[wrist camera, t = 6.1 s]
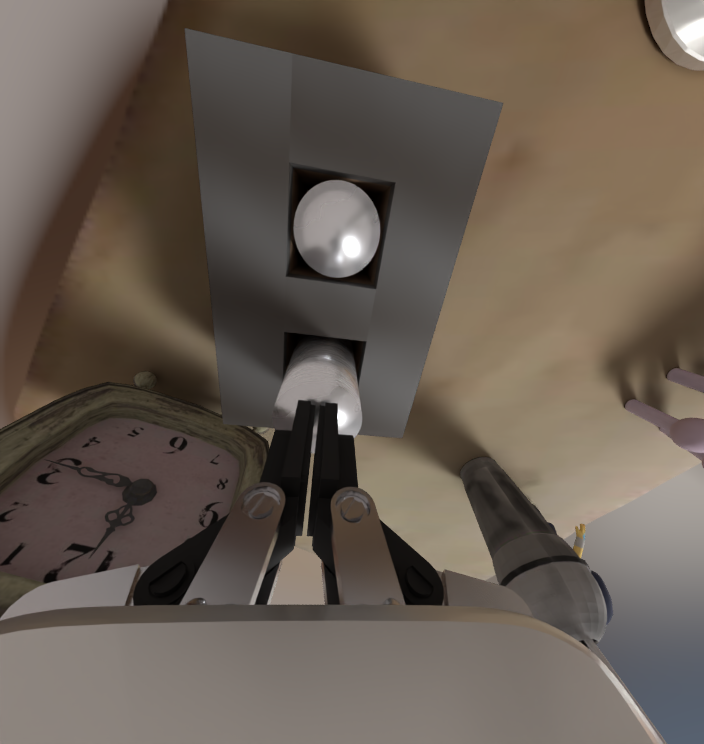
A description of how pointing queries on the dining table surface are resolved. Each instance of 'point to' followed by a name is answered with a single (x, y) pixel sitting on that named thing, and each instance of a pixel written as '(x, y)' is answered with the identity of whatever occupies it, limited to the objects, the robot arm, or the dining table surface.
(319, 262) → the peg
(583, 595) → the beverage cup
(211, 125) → the peg block
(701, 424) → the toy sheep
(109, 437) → the tabletop clock
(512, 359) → the dining table surface
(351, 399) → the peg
